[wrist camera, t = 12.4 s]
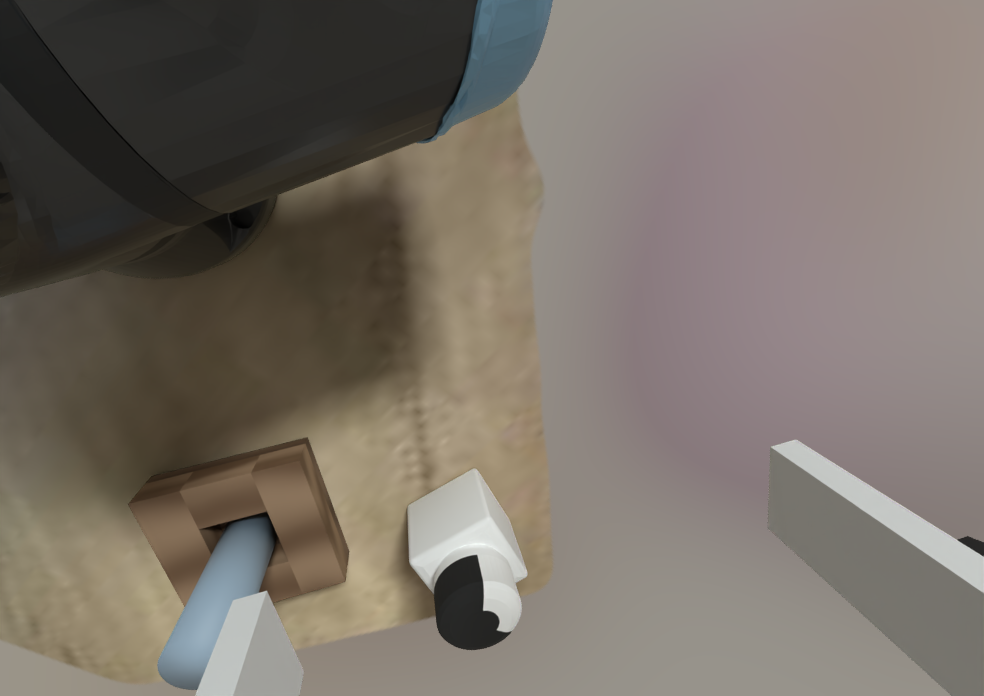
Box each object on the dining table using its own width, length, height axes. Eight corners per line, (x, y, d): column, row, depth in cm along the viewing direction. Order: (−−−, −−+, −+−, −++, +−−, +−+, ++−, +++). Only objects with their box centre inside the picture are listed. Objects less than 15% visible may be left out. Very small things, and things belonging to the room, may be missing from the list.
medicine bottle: (444, 556, 44) (460, 679, 33) (405, 504, 42) (409, 619, 31) (510, 519, 45) (548, 629, 33) (475, 465, 42) (504, 565, 31)
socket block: (151, 476, 37) (127, 504, 33) (307, 437, 38) (299, 460, 35) (210, 590, 41) (194, 625, 37) (349, 551, 42) (345, 581, 39)
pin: (219, 514, 38) (145, 651, 26) (270, 500, 38) (218, 629, 27) (237, 552, 39) (174, 698, 28) (286, 539, 39) (244, 676, 28)
